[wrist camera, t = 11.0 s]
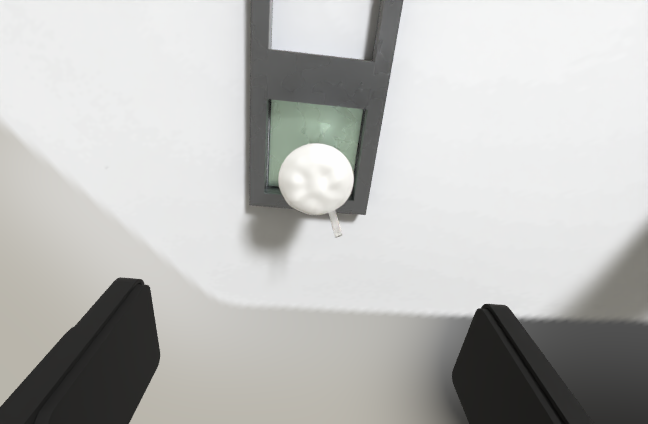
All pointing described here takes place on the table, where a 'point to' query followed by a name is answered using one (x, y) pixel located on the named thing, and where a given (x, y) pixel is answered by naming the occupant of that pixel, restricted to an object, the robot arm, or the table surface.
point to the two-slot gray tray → (316, 104)
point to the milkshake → (316, 176)
